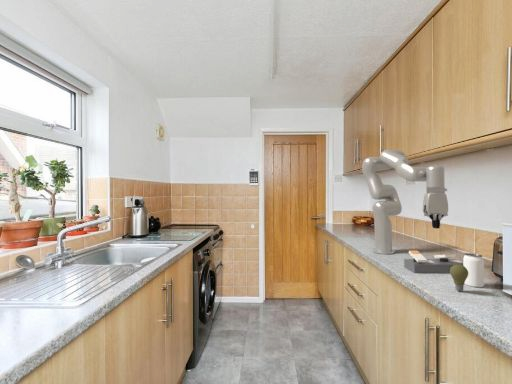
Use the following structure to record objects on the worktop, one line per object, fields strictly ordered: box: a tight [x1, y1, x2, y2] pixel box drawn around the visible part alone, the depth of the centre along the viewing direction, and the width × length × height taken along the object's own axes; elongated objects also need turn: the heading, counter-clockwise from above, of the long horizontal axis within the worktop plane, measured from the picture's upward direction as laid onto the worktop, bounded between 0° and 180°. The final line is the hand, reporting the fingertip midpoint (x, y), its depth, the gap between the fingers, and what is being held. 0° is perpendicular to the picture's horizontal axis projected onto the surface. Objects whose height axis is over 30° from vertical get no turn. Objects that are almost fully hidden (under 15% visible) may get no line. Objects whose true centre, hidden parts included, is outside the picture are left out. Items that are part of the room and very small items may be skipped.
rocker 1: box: [408, 250, 428, 262], centre depth 132 cm, size 9×4×1 cm, turn 177°
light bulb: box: [449, 264, 468, 292], centre depth 104 cm, size 6×6×10 cm
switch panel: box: [403, 257, 463, 274], centre depth 131 cm, size 10×24×6 cm, turn 86°
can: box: [462, 252, 485, 289], centre depth 110 cm, size 6×6×12 cm
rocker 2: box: [433, 254, 455, 259], centre depth 131 cm, size 9×4×1 cm, turn 176°
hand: (436, 228), depth 137 cm, fingers closed
